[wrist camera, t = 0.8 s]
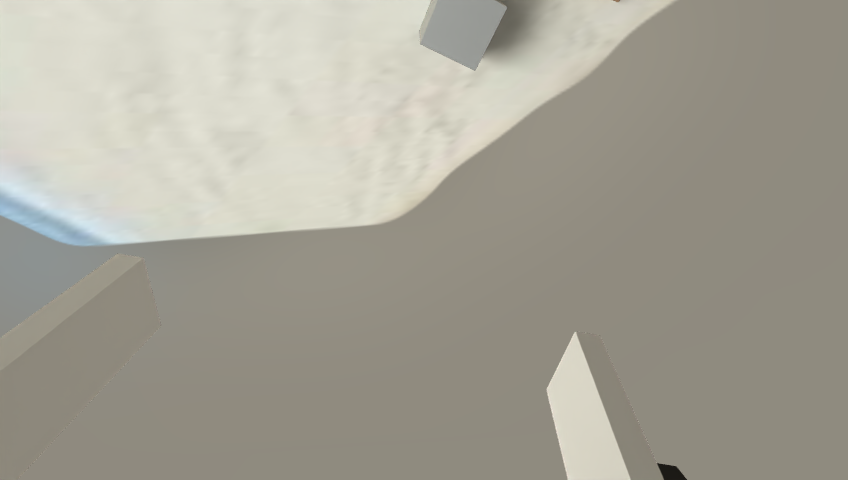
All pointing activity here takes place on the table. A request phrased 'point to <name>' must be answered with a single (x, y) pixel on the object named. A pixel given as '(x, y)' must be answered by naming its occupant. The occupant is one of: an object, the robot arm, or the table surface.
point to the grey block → (461, 28)
